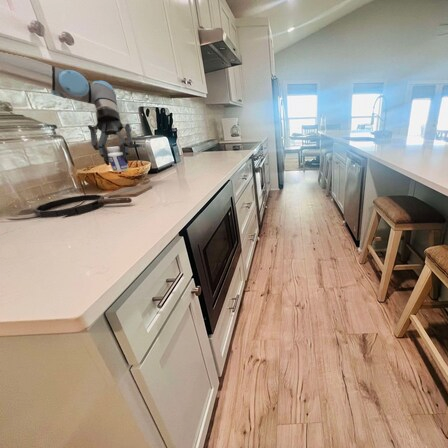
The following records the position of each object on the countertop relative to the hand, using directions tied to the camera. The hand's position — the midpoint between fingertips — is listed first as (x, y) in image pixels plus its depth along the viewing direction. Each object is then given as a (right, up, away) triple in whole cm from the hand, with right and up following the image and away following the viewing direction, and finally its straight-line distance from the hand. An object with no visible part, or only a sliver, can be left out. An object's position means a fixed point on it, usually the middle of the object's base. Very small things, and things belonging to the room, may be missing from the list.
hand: (116, 161), depth 89 cm
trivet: (-1, -10, +8) cm, 13 cm away
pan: (-3, -18, -8) cm, 20 cm away
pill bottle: (-2, -2, +5) cm, 5 cm away
